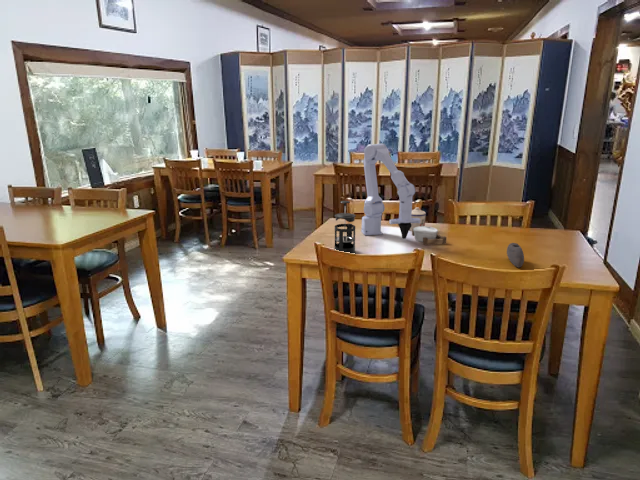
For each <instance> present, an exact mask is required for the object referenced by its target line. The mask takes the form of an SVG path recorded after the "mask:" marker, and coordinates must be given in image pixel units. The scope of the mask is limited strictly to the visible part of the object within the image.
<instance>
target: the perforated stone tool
mask: <svg viewBox="0 0 640 480" xmlns="http://www.w3.org/2000/svg"><path fill="white" fill-rule="evenodd" d="M506 256H507V257H508V260H509V261H510V262H511V264H512V265H513V266H514V267H516V268H521V267H522V266H523V265H524V264H525V263H524V261H525V253H524V250H523V248H522V247H521V246H520V245H519V244H518V243H517V242H511V243H509V244H508V246H507V247H506Z"/></svg>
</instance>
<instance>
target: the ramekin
mask: <svg viewBox="0 0 640 480" xmlns="http://www.w3.org/2000/svg"><path fill="white" fill-rule="evenodd" d="M413 231H414V236H413V237H414V239H415V241H417V242H420V243H423V237H427V238H428V239H436V235H437V233H438V234H439V230H438V228H437V227H436V228H435V227H431V226H420V227H415V228H414V229H413Z"/></svg>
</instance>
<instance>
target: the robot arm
mask: <svg viewBox="0 0 640 480" xmlns="http://www.w3.org/2000/svg"><path fill="white" fill-rule="evenodd" d="M363 155H364V156H363V157H364V158H363V170H364V178H365V179H364V181H365V187H366V195H367V197H366V199H365V200H364V202H363V203H364V205H363V213H364V214H365V215H363V216H362V217H361V230H360V231H361V233H362V234H363V235H364V236H379V235H384V233H383V232H382V216H383V213H384V212H385V210H386V208H385V204H384V202H383V199H382V198H381V197H380V195H379V188H378V187H379V186H378V179H377V170H376V163H377V162H378V161H380V162H382V164H383V165H384V166H385V167H386V169H387V170H388V172H389V173H390V178H391V180H392V182H393V184H394V185H395V187H396V189H397V195H398V197H399V199H398V200H399V207H398V208H399V210H398V213H399V214H398V217H397V218H393V219H392V218H391V219H389V224H390V225H398V227H399V230H400V233H401V238H402V239H403V240H407V236H408V233H409V231H410V228H411V226H412V225H411V223H420V220H421V219H419V218H411V214H412V210H413V198H414V197H413V196H414V195H415V194H416V187H415V185H414V184H413V183H411V182H410V181H408V179H407V178H406V176H405V172H403V171H402V170H398V168H397V166H396V165H395V163H394V161H393V159H392V157H391V156H390V151H389V148H388V147H387V145H386V144H385V143H382V142H381V143H372V144H371V143H370V144H367V145H366V146H365V148H364V149H363Z"/></svg>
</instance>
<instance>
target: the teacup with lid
mask: <svg viewBox="0 0 640 480" xmlns="http://www.w3.org/2000/svg"><path fill="white" fill-rule="evenodd" d="M426 215H427V213H426V212H425V211H424V210H422V209H420V207H419V206H418V207H415V208H414V209H412V214H411V218H419V219H421V220H420V223H411V225H412V226H411V228H410V230H409V231H410V232H412V229H414V228H415V227H420V226H425V225H426Z"/></svg>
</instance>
